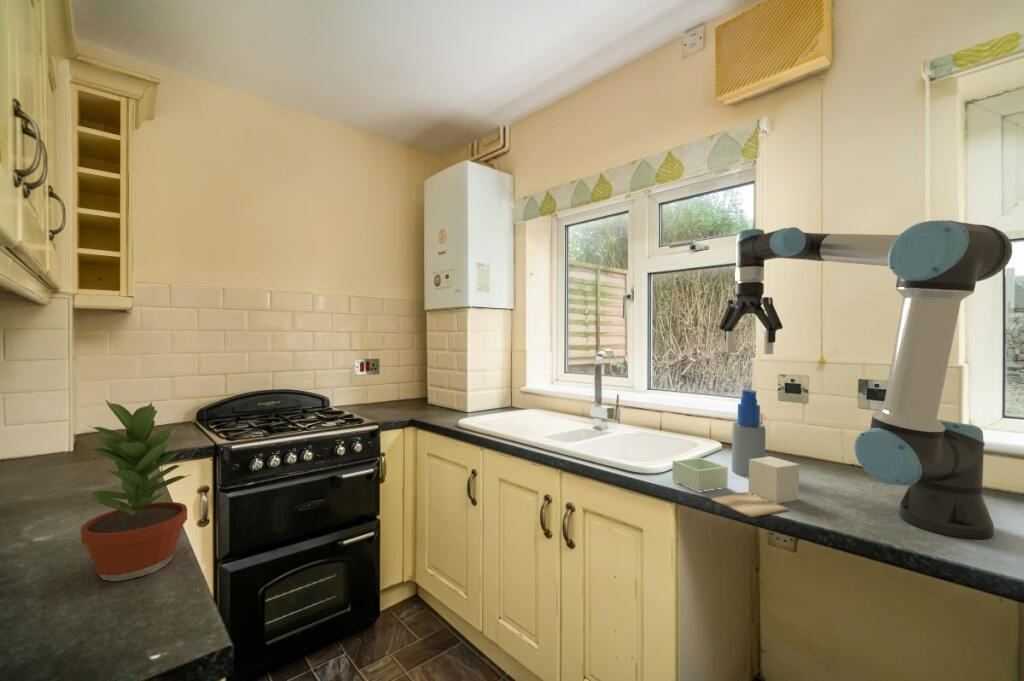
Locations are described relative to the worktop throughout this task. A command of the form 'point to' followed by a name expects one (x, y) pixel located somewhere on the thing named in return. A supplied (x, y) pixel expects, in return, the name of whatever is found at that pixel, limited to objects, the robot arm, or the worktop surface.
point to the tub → (700, 474)
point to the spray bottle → (747, 434)
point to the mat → (749, 504)
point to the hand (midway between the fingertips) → (748, 353)
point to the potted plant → (134, 499)
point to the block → (774, 479)
